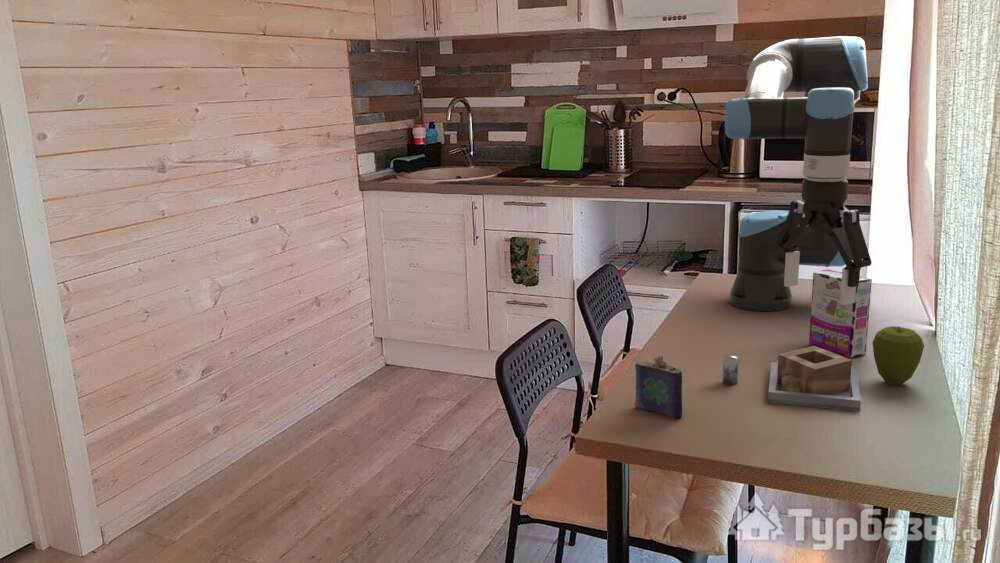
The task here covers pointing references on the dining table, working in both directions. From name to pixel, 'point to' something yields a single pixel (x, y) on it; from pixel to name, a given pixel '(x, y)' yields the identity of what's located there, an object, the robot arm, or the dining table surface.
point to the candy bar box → (839, 315)
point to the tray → (815, 395)
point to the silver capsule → (730, 369)
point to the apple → (897, 353)
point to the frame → (814, 371)
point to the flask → (659, 388)
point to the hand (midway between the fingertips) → (818, 294)
